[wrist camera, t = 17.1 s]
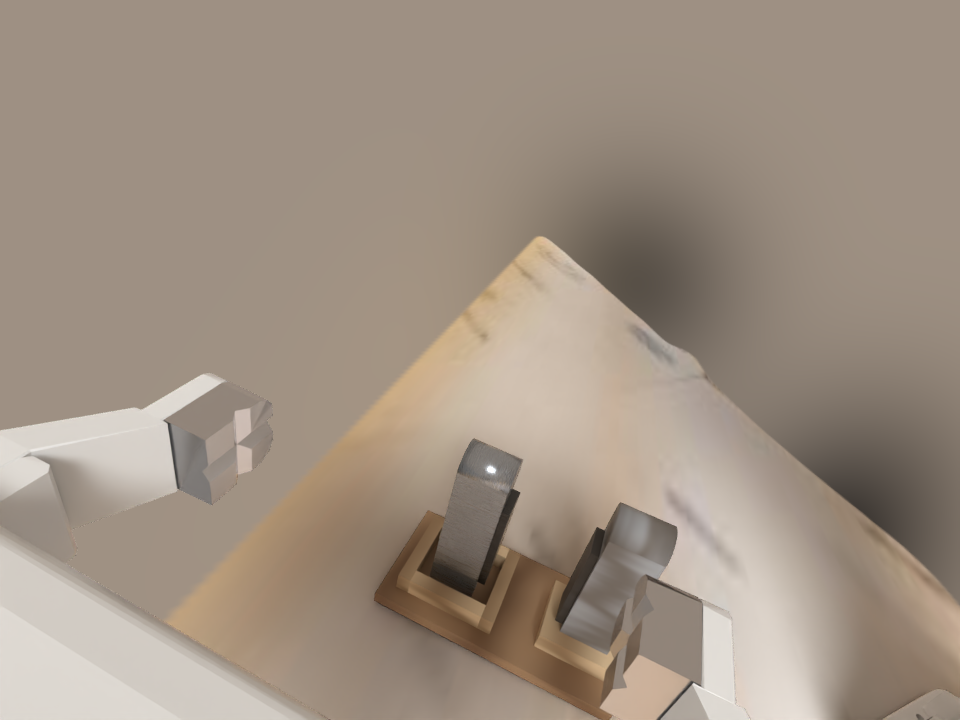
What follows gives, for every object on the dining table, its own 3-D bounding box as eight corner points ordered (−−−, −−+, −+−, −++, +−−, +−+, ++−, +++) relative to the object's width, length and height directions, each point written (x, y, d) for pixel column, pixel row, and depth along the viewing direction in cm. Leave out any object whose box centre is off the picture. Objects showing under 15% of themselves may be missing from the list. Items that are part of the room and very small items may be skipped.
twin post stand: (624, 612, 43) (700, 494, 36) (606, 722, 36) (698, 605, 28) (426, 517, 47) (456, 392, 39) (374, 600, 40) (397, 466, 32)
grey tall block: (490, 572, 43) (534, 454, 35) (477, 603, 40) (521, 483, 33) (444, 550, 44) (478, 430, 36) (428, 579, 41) (461, 456, 34)
